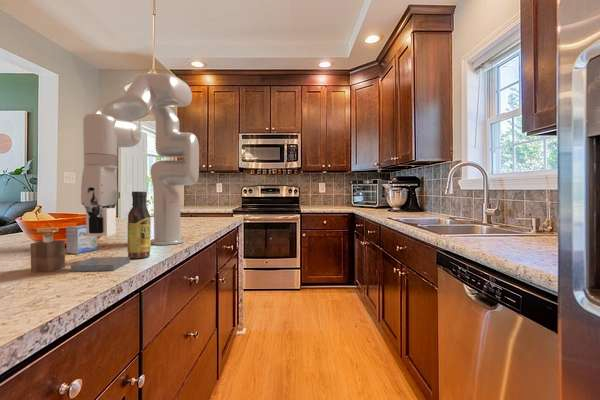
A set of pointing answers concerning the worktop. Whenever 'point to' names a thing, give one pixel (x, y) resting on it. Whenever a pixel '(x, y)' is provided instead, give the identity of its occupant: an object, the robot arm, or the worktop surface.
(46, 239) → the press pin
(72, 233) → the medicine box
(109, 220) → the block
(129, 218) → the sauce bottle
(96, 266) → the plate
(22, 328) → the worktop surface
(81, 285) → the worktop surface
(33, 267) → the brown block
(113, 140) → the robot arm
